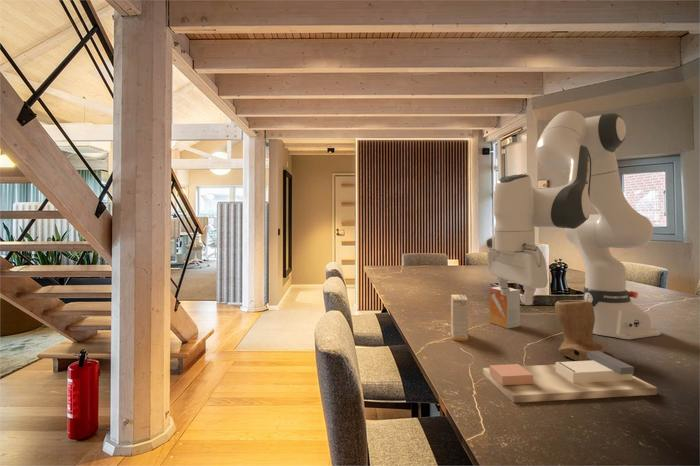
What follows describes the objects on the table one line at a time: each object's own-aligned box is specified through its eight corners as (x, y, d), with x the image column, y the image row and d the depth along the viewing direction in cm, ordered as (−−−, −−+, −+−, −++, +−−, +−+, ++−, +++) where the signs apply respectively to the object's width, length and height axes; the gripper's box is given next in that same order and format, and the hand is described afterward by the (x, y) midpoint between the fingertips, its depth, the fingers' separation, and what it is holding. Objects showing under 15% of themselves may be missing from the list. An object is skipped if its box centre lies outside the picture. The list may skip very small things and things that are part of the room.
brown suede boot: (560, 342, 111) (560, 293, 110) (607, 351, 103) (608, 298, 102) (546, 356, 100) (546, 302, 99) (598, 367, 92) (599, 309, 91)
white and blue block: (604, 365, 89) (604, 350, 89) (640, 383, 79) (640, 366, 79) (550, 368, 88) (550, 352, 88) (579, 387, 78) (579, 369, 78)
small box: (489, 322, 132) (489, 287, 132) (502, 320, 135) (502, 286, 134) (506, 328, 125) (506, 291, 124) (520, 326, 127) (520, 289, 127)
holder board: (605, 367, 91) (605, 362, 91) (656, 394, 77) (656, 387, 77) (483, 374, 89) (483, 368, 89) (513, 402, 75) (513, 395, 75)
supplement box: (468, 341, 113) (468, 299, 112) (452, 340, 114) (452, 299, 113) (465, 333, 121) (465, 294, 120) (450, 332, 122) (450, 293, 121)
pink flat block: (518, 372, 85) (518, 364, 85) (533, 383, 79) (533, 374, 79) (489, 373, 85) (489, 365, 85) (502, 385, 79) (502, 376, 79)
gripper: (555, 245, 77) (556, 309, 77) (504, 239, 97) (506, 290, 98) (527, 246, 76) (528, 311, 77) (482, 240, 96) (483, 291, 97)
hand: (515, 299), depth 87 cm, fingers open, 8 cm apart
